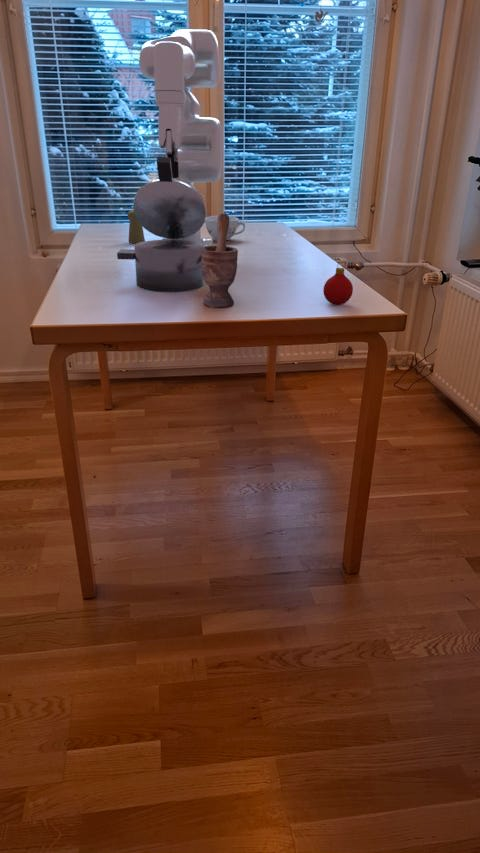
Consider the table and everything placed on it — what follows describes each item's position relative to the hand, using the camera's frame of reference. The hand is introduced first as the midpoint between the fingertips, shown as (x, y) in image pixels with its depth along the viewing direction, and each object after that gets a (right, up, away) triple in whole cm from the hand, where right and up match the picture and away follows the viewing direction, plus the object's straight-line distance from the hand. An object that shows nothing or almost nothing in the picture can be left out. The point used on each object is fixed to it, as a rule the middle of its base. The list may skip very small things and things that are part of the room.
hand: (172, 177), depth 156 cm
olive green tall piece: (-19, -1, +53) cm, 57 cm away
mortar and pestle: (+13, -37, -14) cm, 41 cm away
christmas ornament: (+42, -37, -14) cm, 58 cm away
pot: (-1, -28, +1) cm, 28 cm away
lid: (0, -9, -6) cm, 11 cm away
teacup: (+12, +2, +61) cm, 62 cm away
